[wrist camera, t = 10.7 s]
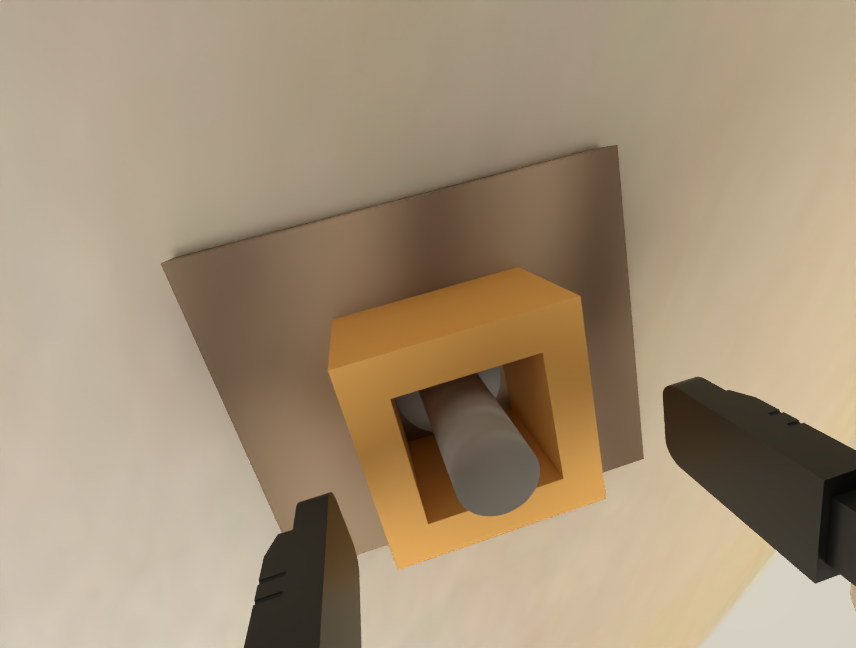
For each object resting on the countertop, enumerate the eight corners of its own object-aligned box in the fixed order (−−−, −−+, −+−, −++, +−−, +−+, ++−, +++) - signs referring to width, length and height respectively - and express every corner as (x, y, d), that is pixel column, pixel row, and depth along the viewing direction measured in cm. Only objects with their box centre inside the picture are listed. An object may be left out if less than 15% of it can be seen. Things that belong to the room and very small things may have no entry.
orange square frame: (518, 266, 14) (580, 296, 11) (545, 426, 16) (605, 498, 13) (331, 319, 14) (328, 370, 10) (384, 478, 16) (397, 570, 12)
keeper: (599, 147, 15) (781, 121, 9) (628, 444, 19) (766, 570, 13) (173, 257, 13) (30, 320, 7) (302, 552, 17) (280, 752, 11)
